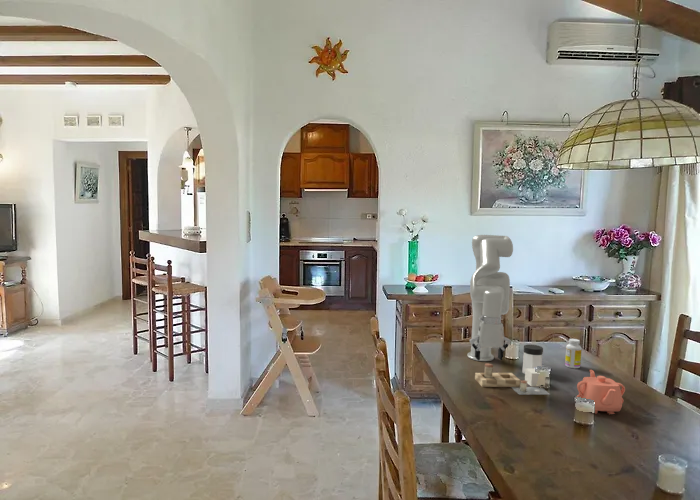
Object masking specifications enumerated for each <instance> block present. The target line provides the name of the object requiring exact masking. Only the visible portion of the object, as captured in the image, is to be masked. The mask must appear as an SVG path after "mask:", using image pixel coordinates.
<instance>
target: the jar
mask: <svg viewBox="0 0 700 500" xmlns="http://www.w3.org/2000/svg"><path fill="white" fill-rule="evenodd" d="M543 354H544V347H542V346H541V345H537V344H524V346H523V357H522V369H521V370H522V374H524V375H525V370H526V369H534V367H537V366H541V367H542V365H543Z"/></svg>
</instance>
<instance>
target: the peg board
mask: <svg viewBox="0 0 700 500" xmlns="http://www.w3.org/2000/svg"><path fill="white" fill-rule="evenodd" d="M484 374H485V372H475V373H474V380H475V381H476V382H477V383H478V384H479V385H480V386H481V388H483V387H485V388H486V387H488V388H492V387H494V388H495V387H496V388H497V387H498V388H502V387H503V388H507V387H508V388H509V387H510V388H511V387H520V384H521V379H520V378H519V377H517V376H516V375H515V374H514V373H513V372H493V373H492V378H484Z"/></svg>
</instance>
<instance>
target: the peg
mask: <svg viewBox="0 0 700 500" xmlns="http://www.w3.org/2000/svg"><path fill="white" fill-rule="evenodd" d="M493 369H494V365H493V364H492V363H484V373H485V374H484V378H492V373H494V371H493Z"/></svg>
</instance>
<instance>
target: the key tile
mask: <svg viewBox="0 0 700 500" xmlns="http://www.w3.org/2000/svg"><path fill="white" fill-rule="evenodd" d="M539 387H540V386H528V383H527V381H526V380H525V379H520V387H510V388H511V389H512V390H513V391H514V392H515V393H517V394H518V395H520V396H521V395H523V396H524V395H537V396H538V395H541V396H542V395H544V396H545V395H546V396H547V395H552V394H551V393H549V392H548V391H547V390H546V389H545V388H543V387H542V388H539Z"/></svg>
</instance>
